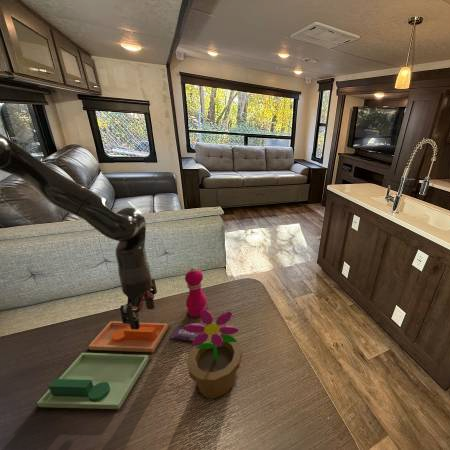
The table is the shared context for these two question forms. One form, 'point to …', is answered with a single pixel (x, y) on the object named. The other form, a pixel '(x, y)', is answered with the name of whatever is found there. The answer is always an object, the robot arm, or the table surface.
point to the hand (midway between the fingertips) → (143, 318)
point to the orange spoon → (135, 334)
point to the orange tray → (107, 343)
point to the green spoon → (79, 389)
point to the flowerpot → (214, 355)
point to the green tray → (100, 379)
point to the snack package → (184, 334)
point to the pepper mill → (195, 293)
